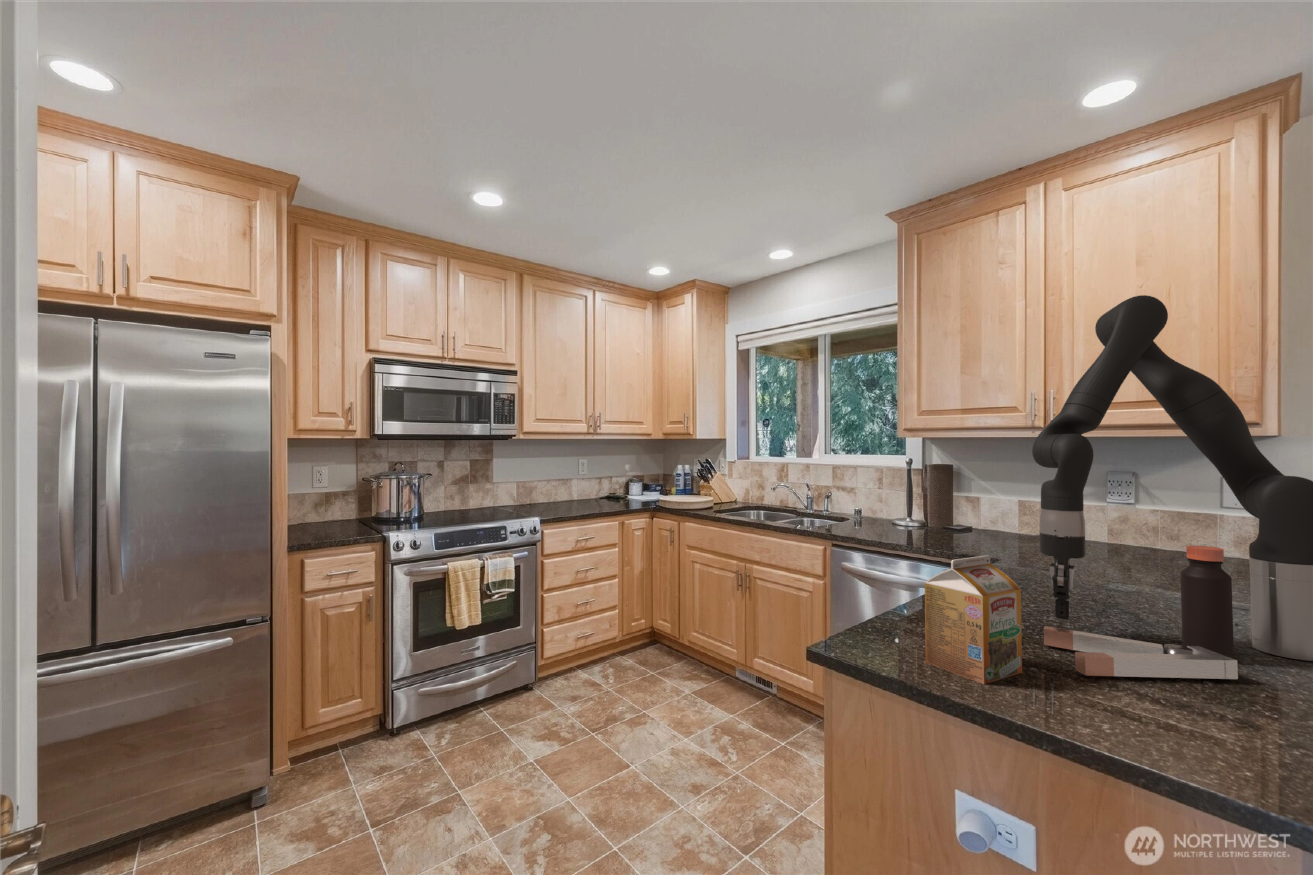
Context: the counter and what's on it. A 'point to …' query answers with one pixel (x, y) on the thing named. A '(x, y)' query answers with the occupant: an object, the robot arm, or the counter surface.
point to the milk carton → (974, 621)
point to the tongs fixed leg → (1158, 664)
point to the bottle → (1207, 601)
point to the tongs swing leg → (1106, 643)
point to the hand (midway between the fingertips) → (1062, 618)
